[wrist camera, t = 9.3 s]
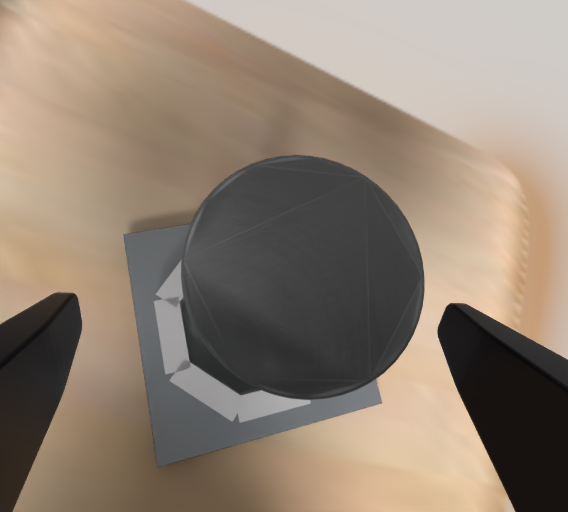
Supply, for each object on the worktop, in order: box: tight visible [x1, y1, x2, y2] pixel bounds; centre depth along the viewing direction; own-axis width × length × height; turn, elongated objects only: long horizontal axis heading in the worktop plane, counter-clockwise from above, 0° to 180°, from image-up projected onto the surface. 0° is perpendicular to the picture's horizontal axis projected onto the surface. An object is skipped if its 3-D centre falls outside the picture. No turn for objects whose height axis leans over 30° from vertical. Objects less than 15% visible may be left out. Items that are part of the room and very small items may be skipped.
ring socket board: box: [123, 224, 382, 467], centre depth 18 cm, size 10×10×2 cm
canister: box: [181, 155, 424, 400], centre depth 13 cm, size 5×5×11 cm
